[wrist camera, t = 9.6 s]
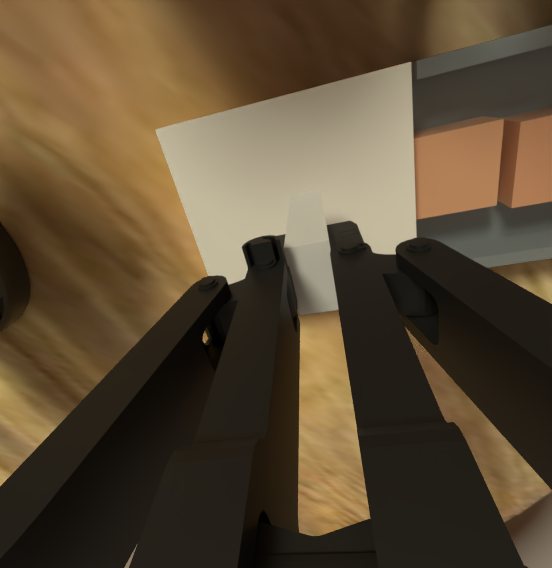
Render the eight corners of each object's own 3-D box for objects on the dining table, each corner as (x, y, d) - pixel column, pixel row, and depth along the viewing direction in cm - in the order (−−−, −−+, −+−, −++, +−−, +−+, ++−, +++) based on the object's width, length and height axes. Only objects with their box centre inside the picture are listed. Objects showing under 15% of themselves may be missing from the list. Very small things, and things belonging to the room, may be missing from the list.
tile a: (403, 207, 22) (413, 220, 20) (399, 134, 20) (410, 139, 18) (477, 194, 21) (496, 205, 19) (482, 116, 19) (504, 118, 17)
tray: (410, 257, 24) (422, 277, 22) (402, 65, 19) (416, 60, 16) (592, 228, 22) (630, 246, 19) (645, 1, 16) (708, -17, 14)
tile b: (603, 192, 18) (571, 182, 20) (625, 99, 16) (587, 98, 18) (511, 208, 19) (490, 196, 21) (520, 121, 17) (496, 119, 19)
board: (233, 285, 27) (222, 313, 23) (180, 123, 21) (155, 129, 18) (402, 258, 24) (417, 286, 21) (392, 67, 19) (411, 61, 15)
